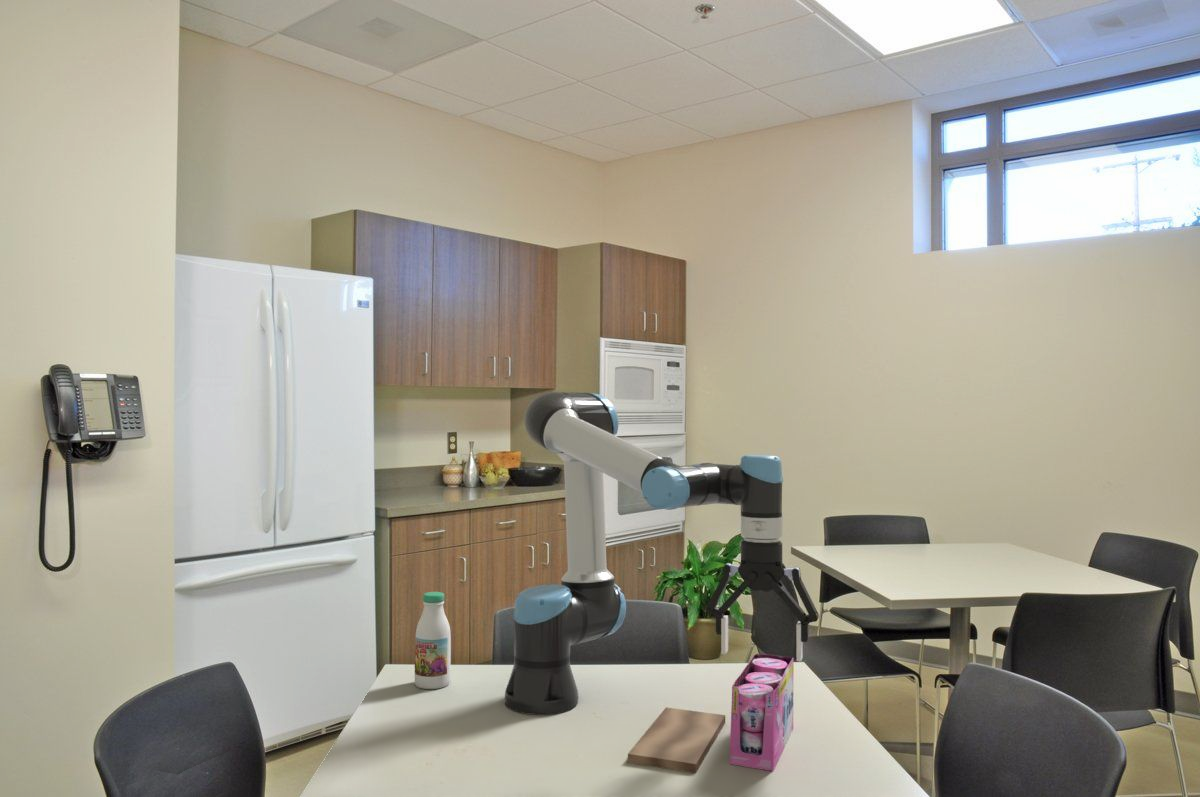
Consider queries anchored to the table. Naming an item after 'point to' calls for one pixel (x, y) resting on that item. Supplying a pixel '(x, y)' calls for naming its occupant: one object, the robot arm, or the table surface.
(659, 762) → the walnut board
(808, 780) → the table surface
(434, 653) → the milk bottle
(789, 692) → the gum box
